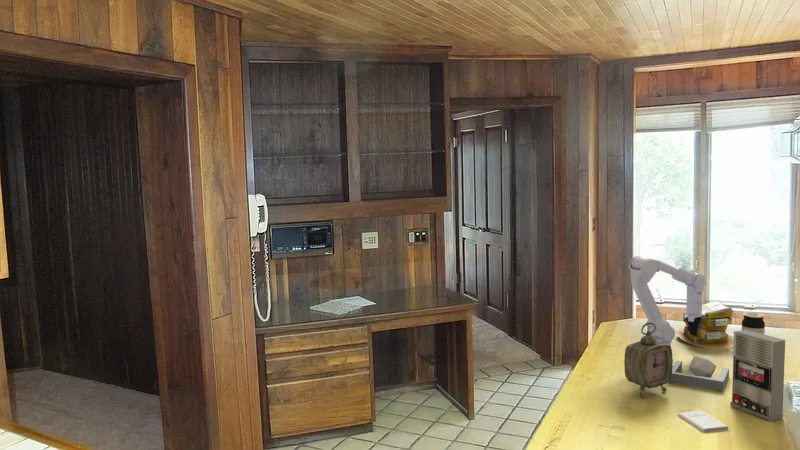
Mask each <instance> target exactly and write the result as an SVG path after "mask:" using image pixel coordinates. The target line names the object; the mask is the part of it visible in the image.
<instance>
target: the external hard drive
mask: <svg viewBox="0 0 800 450" xmlns="http://www.w3.org/2000/svg"><path fill="white" fill-rule="evenodd" d="M677 414H678V416H679V417H680V418H681V419H683V420H685V422H687V423H689V424H691V425H692V426H694V427H695V428H697V429H698V430H700V431H701V432H703V433H709V432H717V431H718V432H719V431H726V430H729V426H728V425H726V424H725V423H723V422H722V421H720V420H718V419H716V418H714V417H712V416H711V415H710V414H707V413H706V412H704V411H703V410H701V409H700V410H699V409H698V410H694V411H693V410H692V411H691V410H690V411H682V412H678V413H677Z"/></svg>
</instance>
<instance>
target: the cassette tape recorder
mask: <svg viewBox="0 0 800 450" xmlns="http://www.w3.org/2000/svg"><path fill="white" fill-rule="evenodd" d="M733 334H734V347H733V352H732V353H733V354H732V359H733V361H732V386H731V387H732V391H731V393H732V394H731V396H732V397H731V401H730V403H729V405H730V406H731V407H732V408H735V409H739V410H741V411H743V412H747V413H748V414H751V415H754V416H756V417H759V418H761V419H763V420H766V421H768V422H773V421H776V420H779V419H780V418H782V419H783V418H784V414H783V413H784V412H783V411H784V409H783V408H784V386H785V385H784V384H785V380H784V379H785V361H786V359H785V358H786V356H785V355H786V339H783V338H780V337H775V336H772V335H771V336H770V335H769V334H760V333H757V332H753V331H749V330H742V329H740V330H736V331H733Z"/></svg>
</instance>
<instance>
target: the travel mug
mask: <svg viewBox="0 0 800 450" xmlns="http://www.w3.org/2000/svg"><path fill="white" fill-rule="evenodd" d="M742 315H743V319H742V321H741V330H749V331H753V332H757V333H760V334H764V335H766V334H765V331H766V329H765V327H766V323H765V321H764V317H765V314H763V313H760V312H754V311H746V312H743V313H742Z"/></svg>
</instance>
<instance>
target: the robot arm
mask: <svg viewBox="0 0 800 450" xmlns="http://www.w3.org/2000/svg"><path fill="white" fill-rule="evenodd" d="M628 264H629V265H628V269H629V272H630V283H631V287H632V289H633V291H634V293H635V295H636V298H637V299H638V301H639V304H640V305H641V308H642V310H643V313H644V315H645V316H646V319H647V321H646V322H645V324H646V323H654V324H655V326H656V330H655V331H654V333H652V334H650V335H651V336H653V337H654V338H655V339H656V342H659V343H663V344H666V345H669V346H671V347H672V345H671V344H672V342H673V340H674V339H675V336H676V330H675V329H674V328H673V326H671V325H670V323H669V321H668V320H666V319H665V318H664V316H663V315H662V312H661V311H660V309H659V306H658V305H657V303H656V300H655V298H654V296H653V293H652V291H651V290H650V287H649V284H648V283H650V282H651V280H652V278H654V276H655V275H656V274H657V273H659V272H663V273H665V274H667V275H668V274H669V275H671V278H672V279H673V280H675V281H677V282H679V283H682V284H684V286H686V305H685V307H686V309H685V310H686V311H685V314H686V315H687V316H688V317H686V321H687V323H688V326H689V330H690V335H694V336H696V335H697V332H698V328H699V324H700V322H701V320H702V317H700V316H705V313H702V303H703V292H704V290H705V289H704V288H705V287H706V284H707V280H706V278H705V276H704V275H703V274H702V273H698V272H695V270H693V269H688V268H686V266H685V265H676V266H673V265H670V264H668V263H666V262H664V261H662V260H658V259H653V258H648V257H642V256H640V255H635V256H633V257H632V258H631V259H630V262H629V263H628ZM648 330H649V331H650V332H652V331H653V330H654V325H652V324H650V325H646V332H647V331H648ZM672 360H673V361H674V359H673V358H672Z"/></svg>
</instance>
